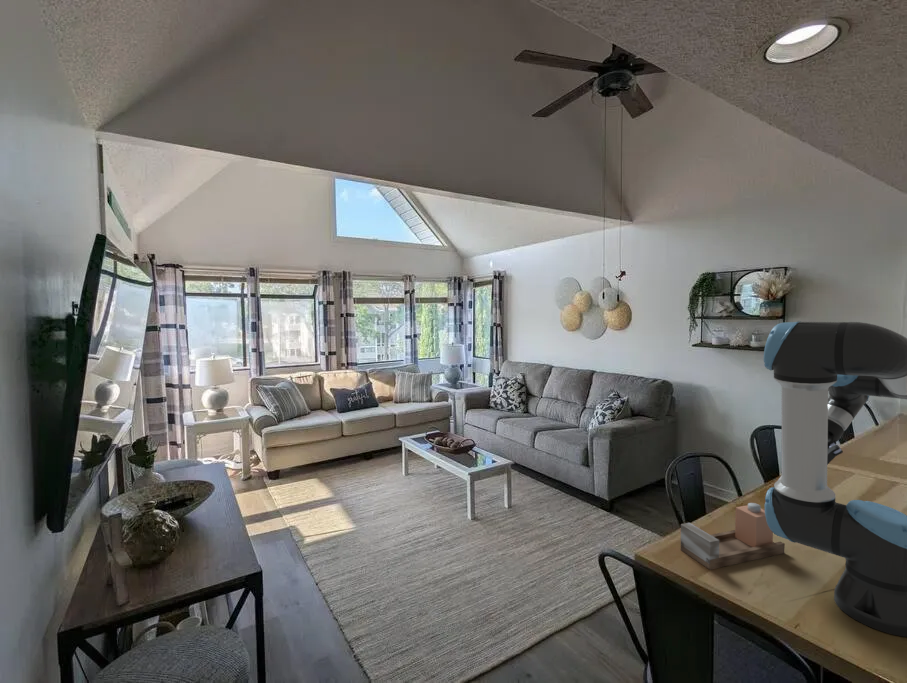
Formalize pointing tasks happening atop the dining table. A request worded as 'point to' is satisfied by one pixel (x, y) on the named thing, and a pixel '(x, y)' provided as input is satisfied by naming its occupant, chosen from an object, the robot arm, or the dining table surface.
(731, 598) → the dining table surface
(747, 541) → the block
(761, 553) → the track
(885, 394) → the robot arm
